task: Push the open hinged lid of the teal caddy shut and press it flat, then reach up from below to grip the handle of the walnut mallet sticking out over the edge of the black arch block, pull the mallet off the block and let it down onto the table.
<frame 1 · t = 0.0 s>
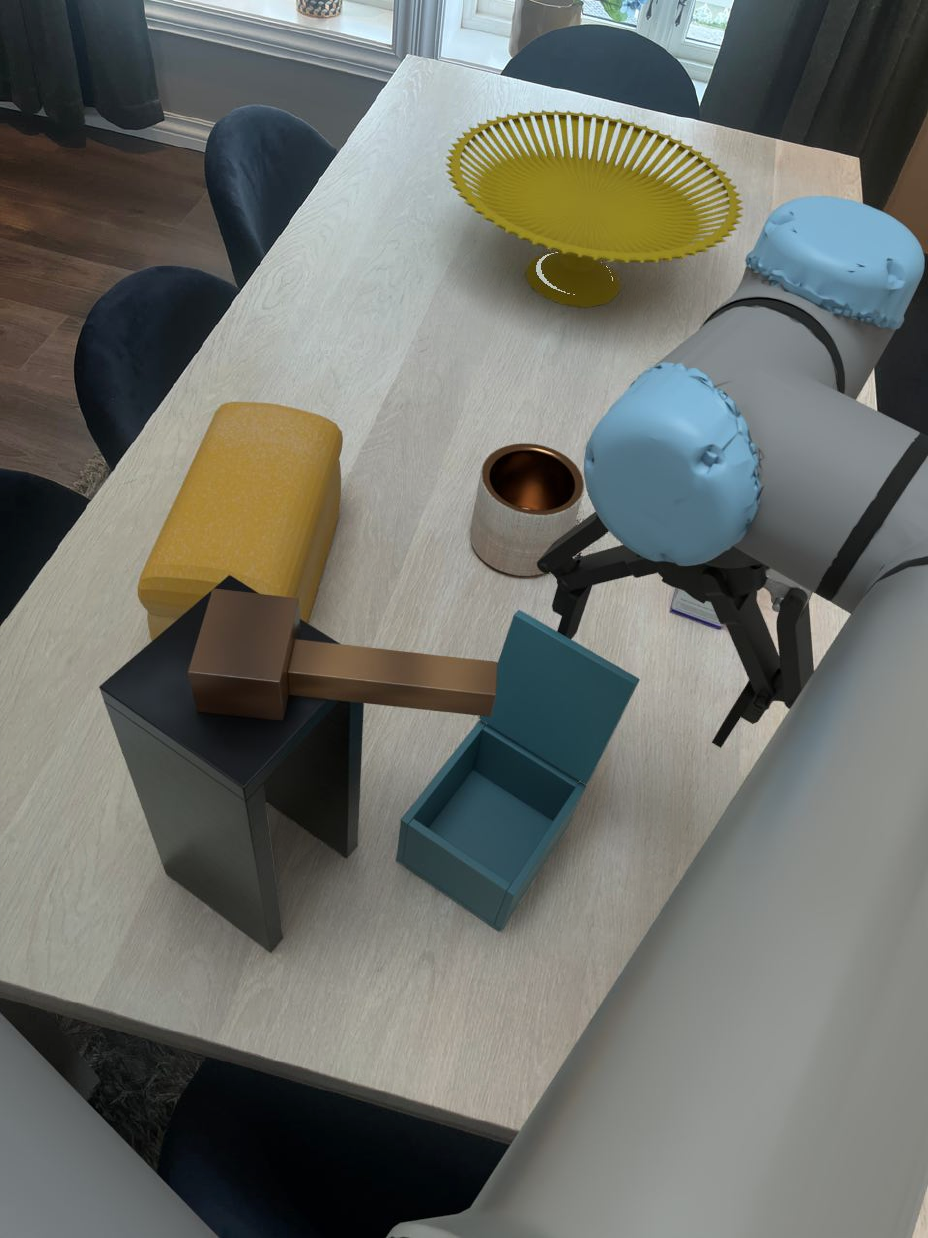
hand: (641, 685, 70), 17 cm above the table, tool pointing down, fingers open, 13 cm apart
flower pot: (702, 439, 116), on the table
black arch block: (263, 859, 76), on the table
mallet: (309, 680, 55), point 27 cm above the table, touching black arch block
supplement box: (700, 603, 99), on the table
lid: (553, 700, 72), point 14 cm above the table, hinge at 101.1°, touching gripper
planter: (518, 543, 102), on the table
caddy: (484, 843, 79), on the table
cake stand: (572, 280, 136), on the table
bread: (256, 584, 94), on the table
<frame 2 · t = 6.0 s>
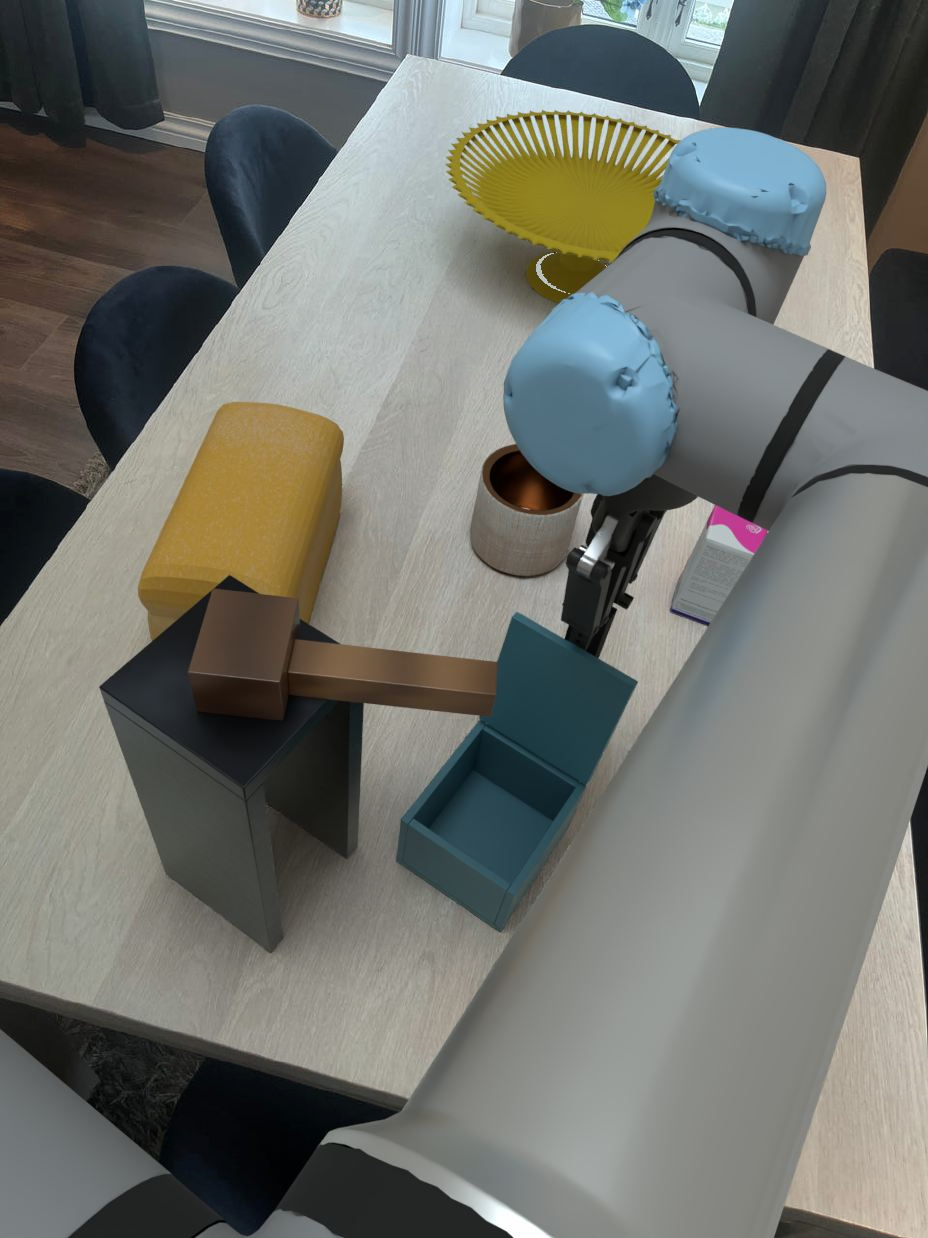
hand: (578, 658, 72), 16 cm above the table, tool pointing down, fingers closed
lid: (552, 701, 72), point 14 cm above the table, hinge at 99.5°, touching gripper
everything else where it was.
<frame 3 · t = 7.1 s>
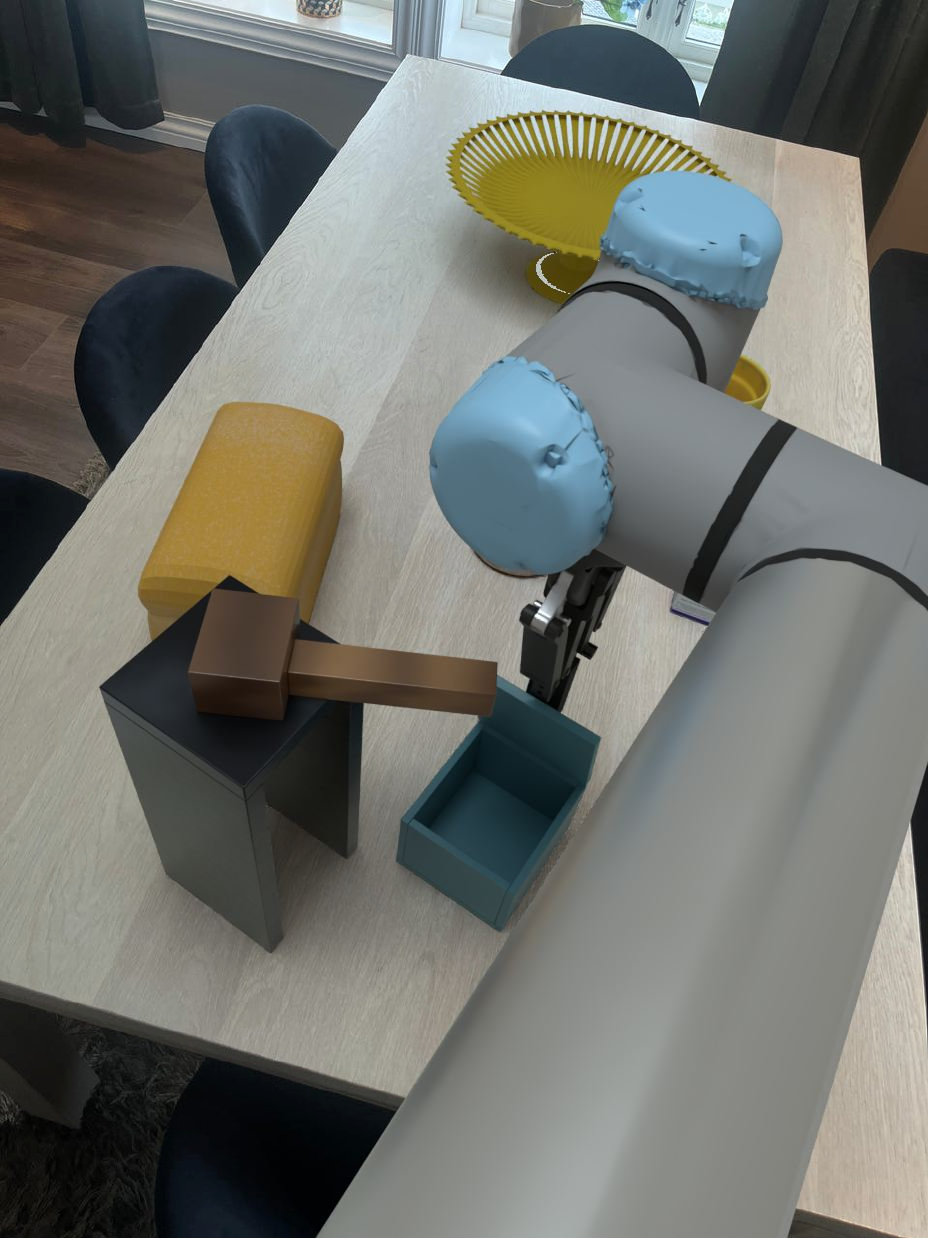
hand: (542, 707, 69), 16 cm above the table, tool pointing down, fingers closed
lid: (533, 727, 71), point 14 cm above the table, hinge at 72.2°, touching gripper
everything else where it was.
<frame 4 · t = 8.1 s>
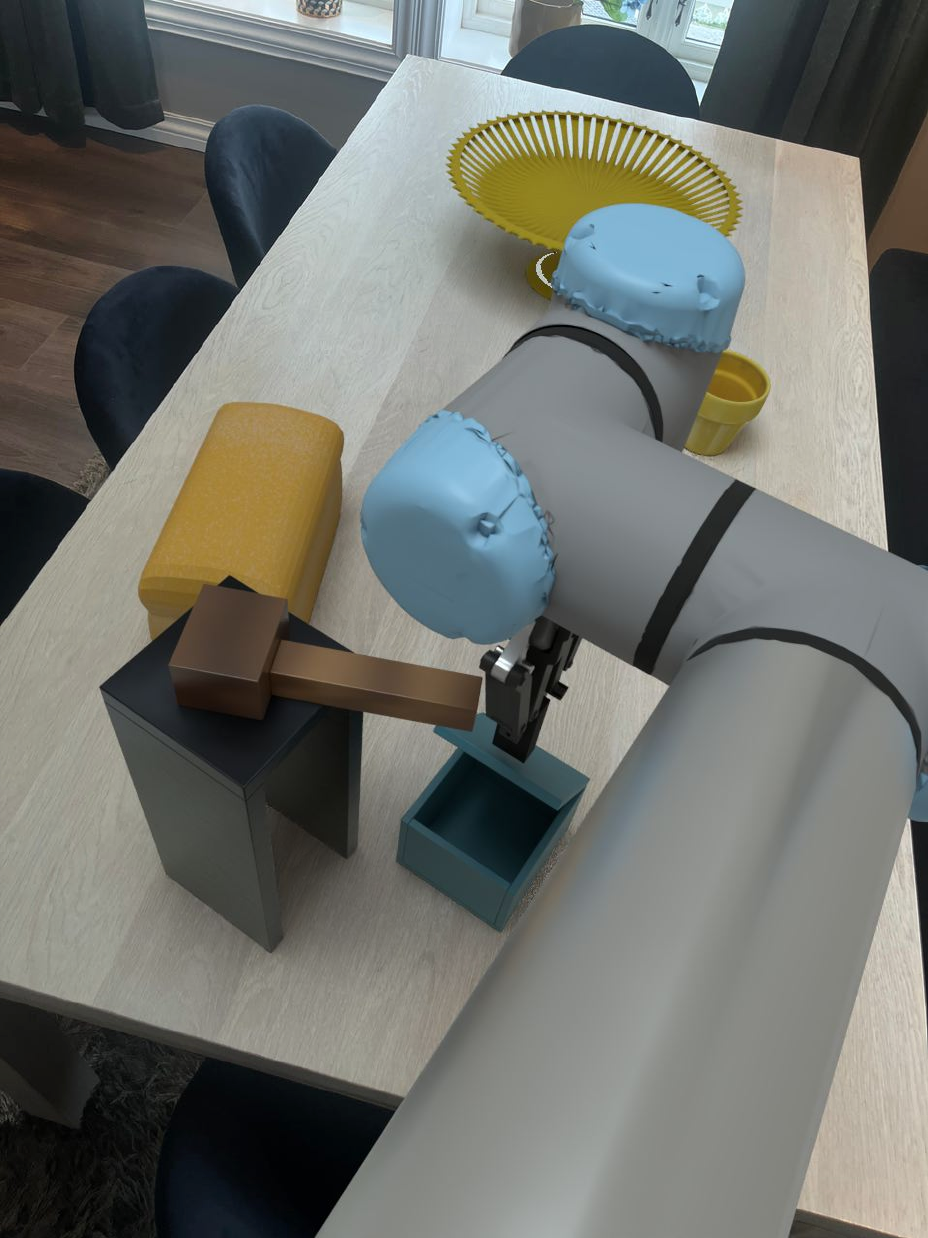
hand: (513, 746, 66), 16 cm above the table, tool pointing down, fingers closed
mallet: (293, 682, 55), point 27 cm above the table, touching hand, black arch block
lid: (516, 756, 70), point 13 cm above the table, hinge at 47.6°
everything else where it was.
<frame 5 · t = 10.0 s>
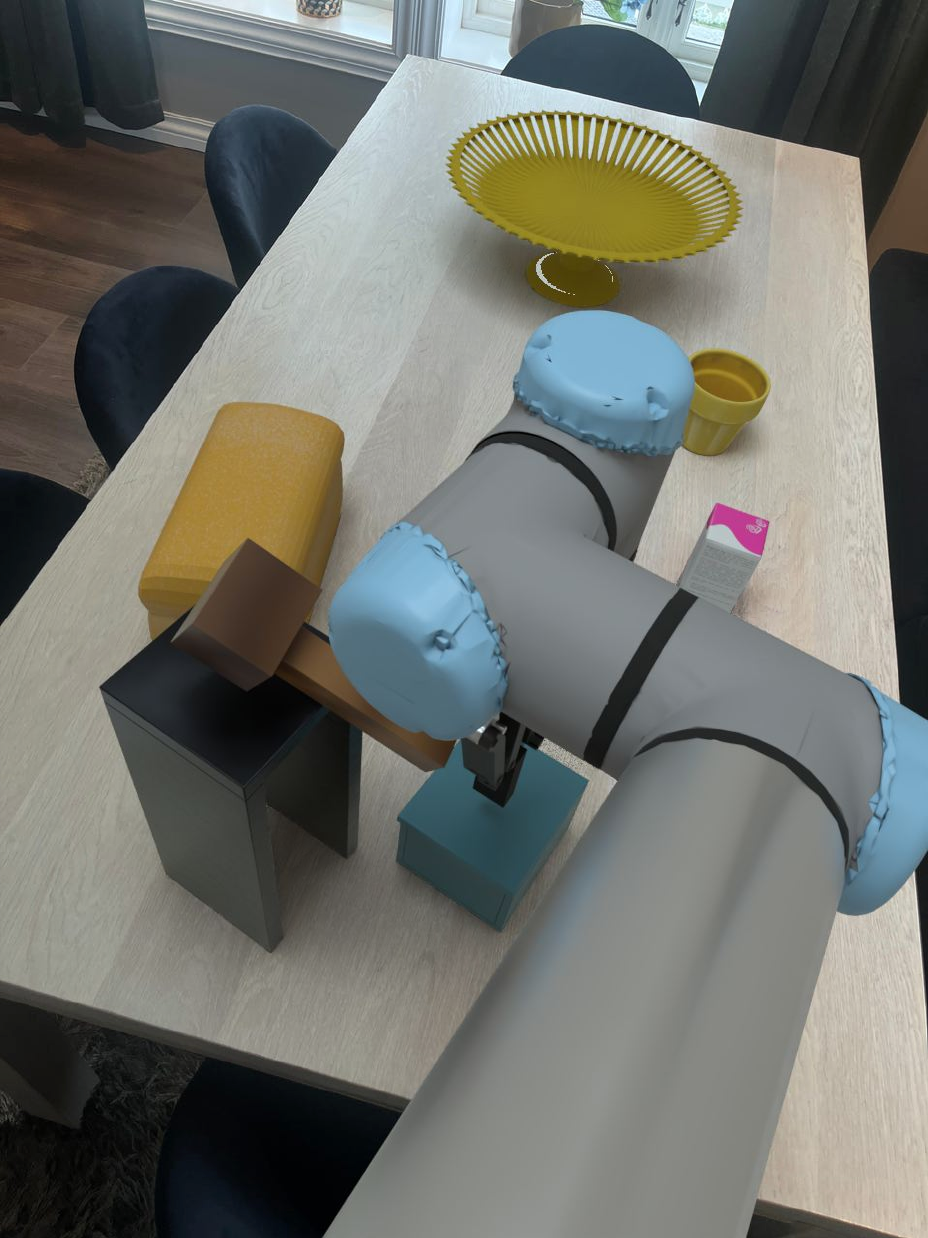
hand: (493, 790, 69), 12 cm above the table, tool pointing down, fingers closed
mallet: (286, 658, 54), point 29 cm above the table, tilted 32°, touching hand, black arch block
lid: (495, 800, 72), point 9 cm above the table, hinge at 3.5°
everything else where it was.
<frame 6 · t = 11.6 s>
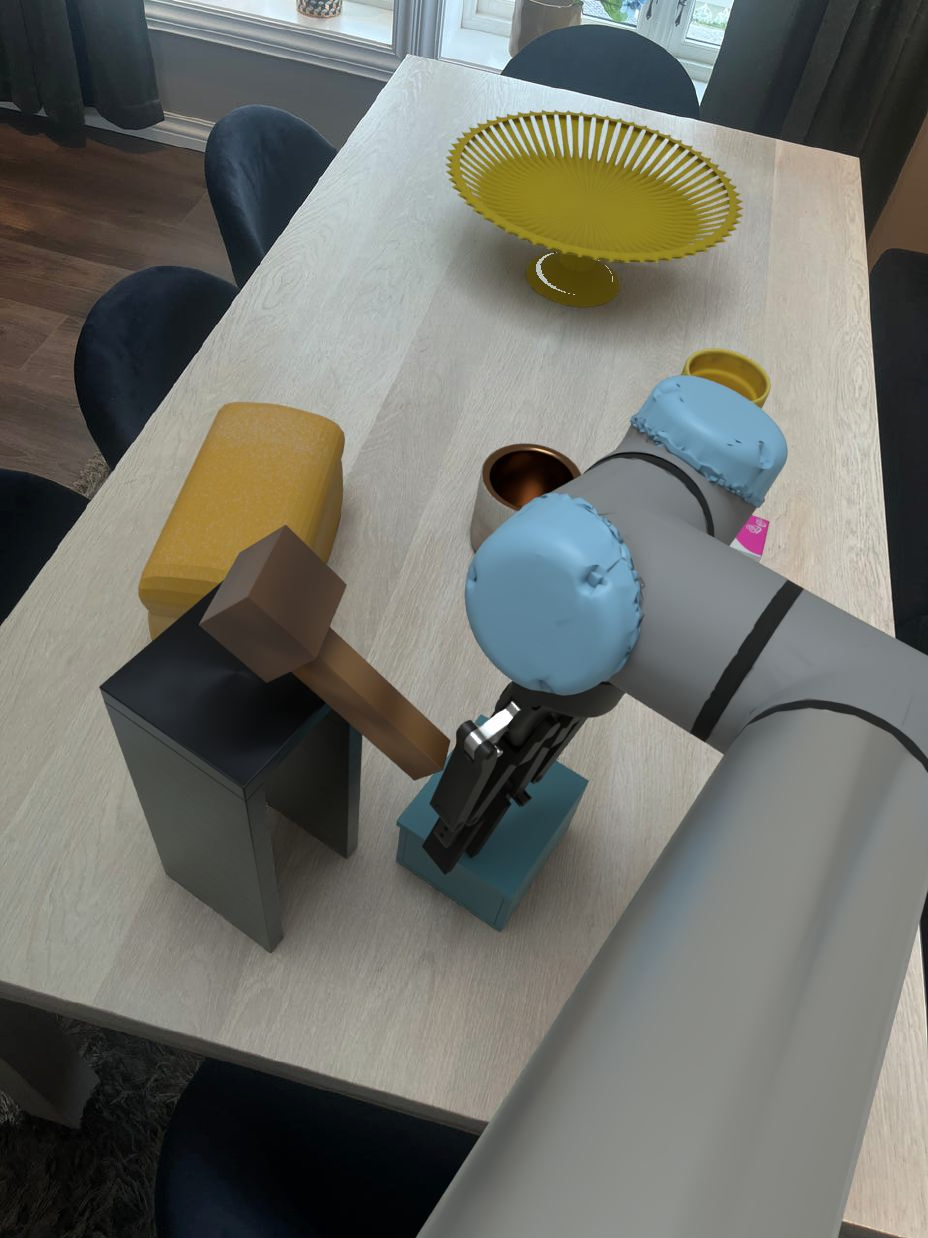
hand: (450, 850, 69), 9 cm above the table, tool tilted 20°, fingers open, 2 cm apart
mallet: (296, 656, 53), point 30 cm above the table, tilted 44°, touching hand
lid: (494, 802, 73), point 8 cm above the table, hinge at -0.3°, touching caddy, gripper
everything else where it was.
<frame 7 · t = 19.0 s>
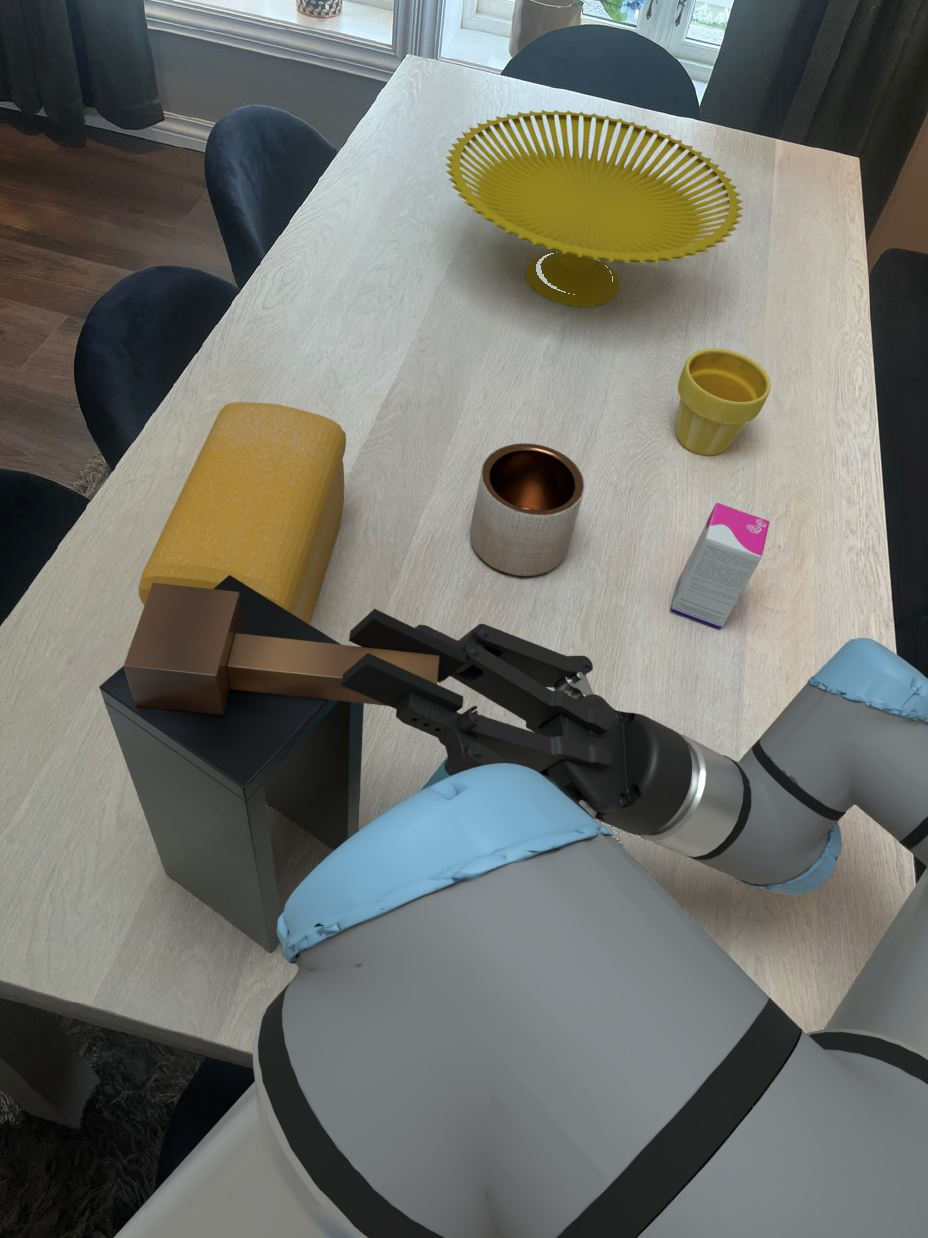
hand: (358, 646, 52), 31 cm above the table, tool pointing upward, fingers closed on mallet, 2 cm apart
mallet: (251, 674, 55), point 27 cm above the table, touching gripper
lid: (494, 802, 73), point 8 cm above the table, hinge at -0.2°
everything else where it was.
when the fingers open (27 cm above the table, at t = 23.3 s): mallet drops 23 cm and tips over, resting on caddy.
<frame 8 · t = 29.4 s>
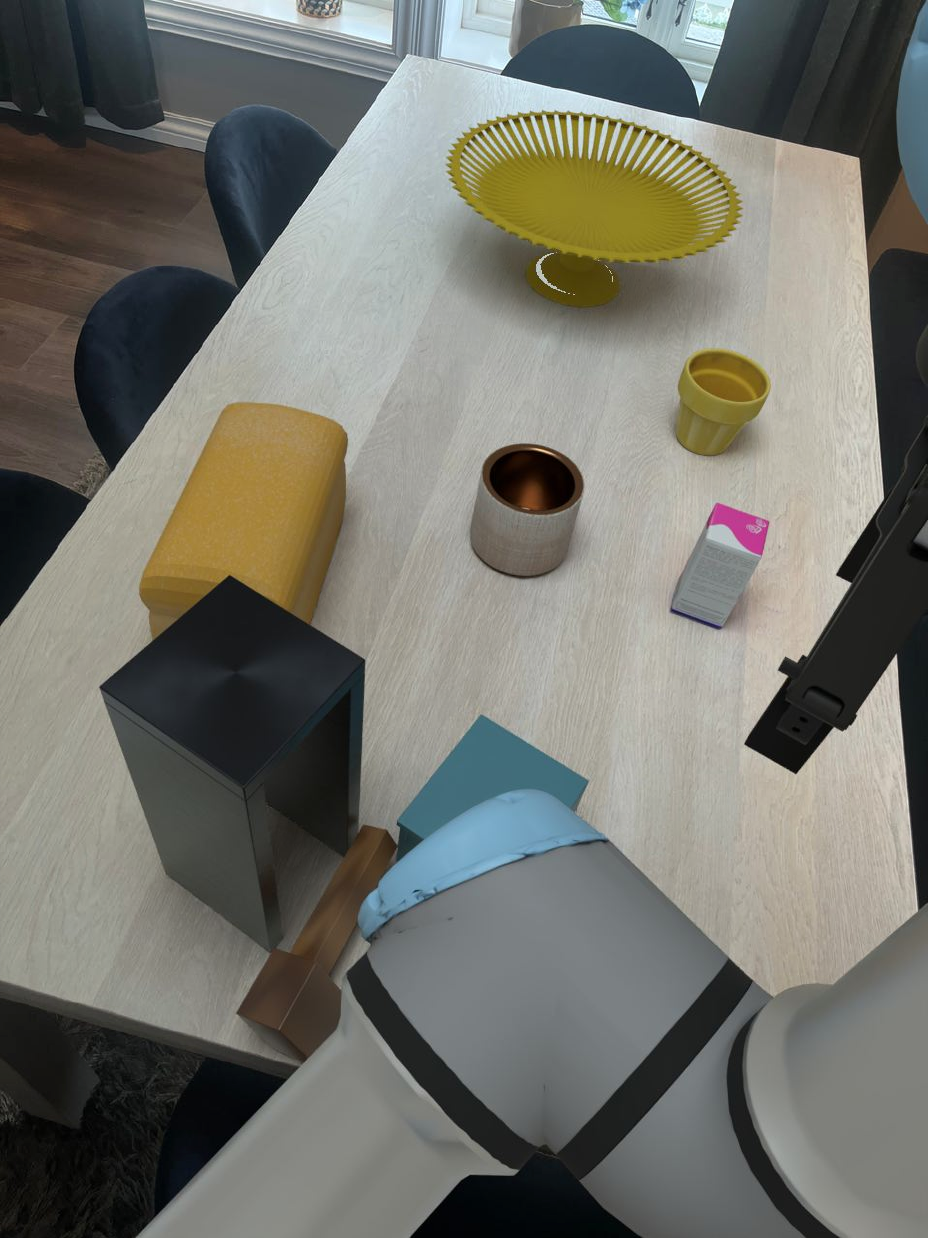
hand: (819, 662, 48), 37 cm above the table, tool pointing down, fingers open, 13 cm apart
mallet: (299, 955, 69), point 3 cm above the table, tilted 63°, touching caddy
lid: (494, 802, 73), point 8 cm above the table, hinge at -0.3°, touching caddy
everything else where it was.
at the end: lid at +0° (first picture: +101°); mallet point 2.7 cm above the table; mallet moved 25.6 cm from its start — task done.
